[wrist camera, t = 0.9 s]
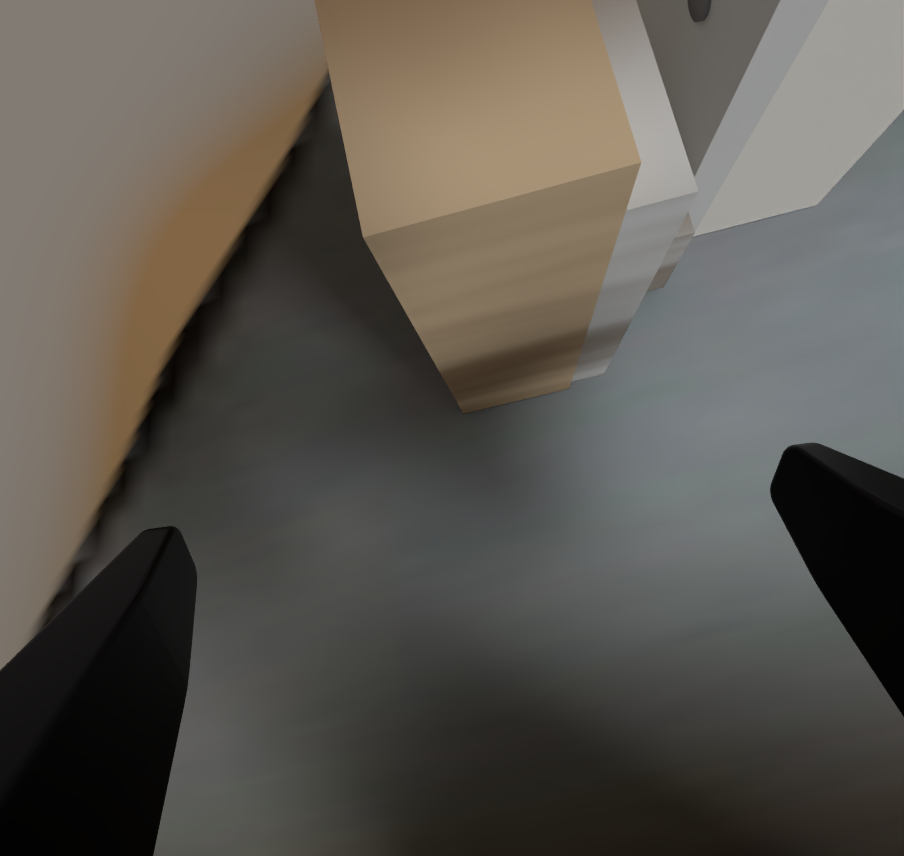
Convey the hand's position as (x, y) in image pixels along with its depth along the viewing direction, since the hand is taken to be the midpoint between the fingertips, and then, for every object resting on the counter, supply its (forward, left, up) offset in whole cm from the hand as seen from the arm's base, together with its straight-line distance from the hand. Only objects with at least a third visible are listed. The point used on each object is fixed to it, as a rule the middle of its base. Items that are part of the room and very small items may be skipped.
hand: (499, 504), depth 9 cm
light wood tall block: (+6, -3, -10) cm, 12 cm away
